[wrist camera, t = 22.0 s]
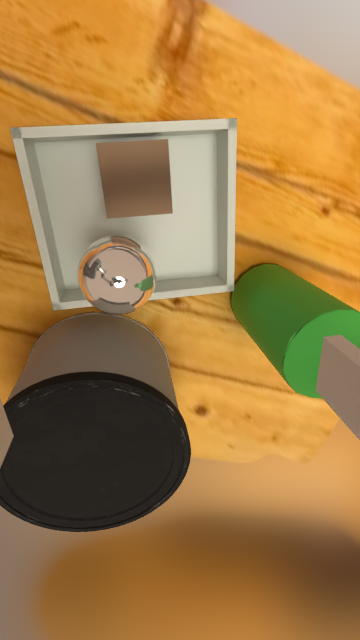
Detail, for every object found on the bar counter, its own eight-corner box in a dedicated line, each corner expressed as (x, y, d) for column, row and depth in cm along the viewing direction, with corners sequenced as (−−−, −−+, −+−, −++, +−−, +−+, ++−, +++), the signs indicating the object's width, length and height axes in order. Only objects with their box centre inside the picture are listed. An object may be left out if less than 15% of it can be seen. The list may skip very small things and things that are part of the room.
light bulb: (104, 292, 38) (97, 340, 27) (75, 237, 35) (54, 266, 24) (159, 269, 38) (173, 308, 27) (134, 211, 35) (139, 229, 24)
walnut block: (100, 147, 32) (95, 142, 27) (160, 144, 33) (168, 139, 27) (109, 211, 34) (106, 218, 29) (165, 207, 35) (172, 213, 30)
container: (1, 327, 39) (-64, 411, 25) (157, 296, 40) (174, 359, 27) (52, 442, 47) (23, 552, 33) (180, 413, 48) (202, 506, 35)
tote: (61, 295, 38) (53, 310, 34) (24, 133, 31) (9, 127, 27) (222, 279, 40) (234, 291, 36) (223, 124, 33) (236, 118, 29)
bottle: (248, 337, 44) (375, 505, 22) (216, 288, 41) (331, 431, 18) (303, 300, 43) (496, 437, 21) (276, 247, 40) (475, 345, 17)
